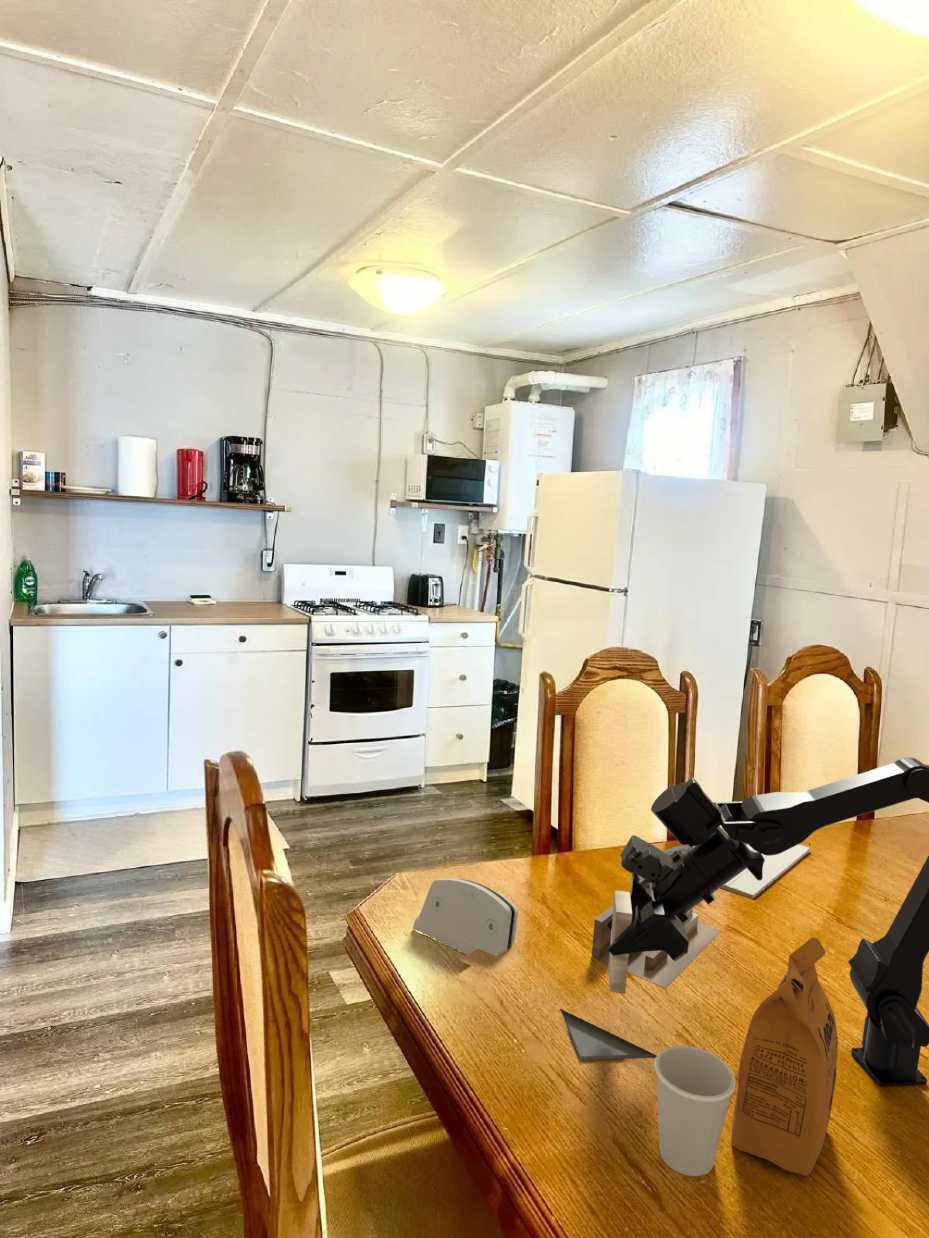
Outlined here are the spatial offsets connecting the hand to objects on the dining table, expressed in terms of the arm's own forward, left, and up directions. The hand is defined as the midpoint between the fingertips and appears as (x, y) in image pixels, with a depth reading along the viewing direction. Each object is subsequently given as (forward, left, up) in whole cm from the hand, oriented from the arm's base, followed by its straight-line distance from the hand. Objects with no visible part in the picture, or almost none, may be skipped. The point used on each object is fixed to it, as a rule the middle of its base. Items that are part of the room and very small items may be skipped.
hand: (609, 939), depth 107 cm
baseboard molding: (+50, -47, -13) cm, 69 cm away
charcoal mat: (0, -1, -12) cm, 13 cm away
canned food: (+38, -25, -13) cm, 47 cm away
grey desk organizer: (+18, -14, -12) cm, 26 cm away
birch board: (0, -1, -6) cm, 6 cm away
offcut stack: (+22, -19, -11) cm, 31 cm away
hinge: (+23, +15, -13) cm, 30 cm away
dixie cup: (-22, -3, -13) cm, 25 cm away
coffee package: (-20, -15, -13) cm, 28 cm away
